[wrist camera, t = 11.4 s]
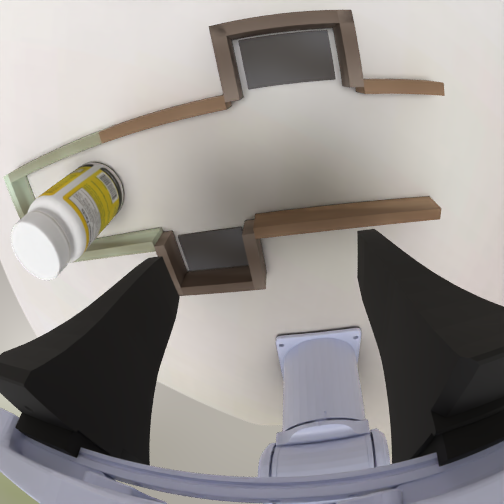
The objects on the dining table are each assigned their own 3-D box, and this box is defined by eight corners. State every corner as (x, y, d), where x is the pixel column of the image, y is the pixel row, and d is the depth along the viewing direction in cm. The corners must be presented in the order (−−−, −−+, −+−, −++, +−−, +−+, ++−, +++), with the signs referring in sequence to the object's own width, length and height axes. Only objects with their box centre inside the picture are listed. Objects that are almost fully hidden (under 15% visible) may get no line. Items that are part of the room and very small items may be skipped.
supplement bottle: (71, 204, 21) (8, 265, 14) (79, 153, 19) (2, 203, 12) (119, 226, 22) (64, 297, 15) (132, 173, 19) (65, 235, 12)
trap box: (422, 254, 21) (431, 268, 19) (73, 288, 26) (64, 301, 25) (420, 21, 12) (434, 17, 10) (4, 126, 17) (-11, 133, 15)
